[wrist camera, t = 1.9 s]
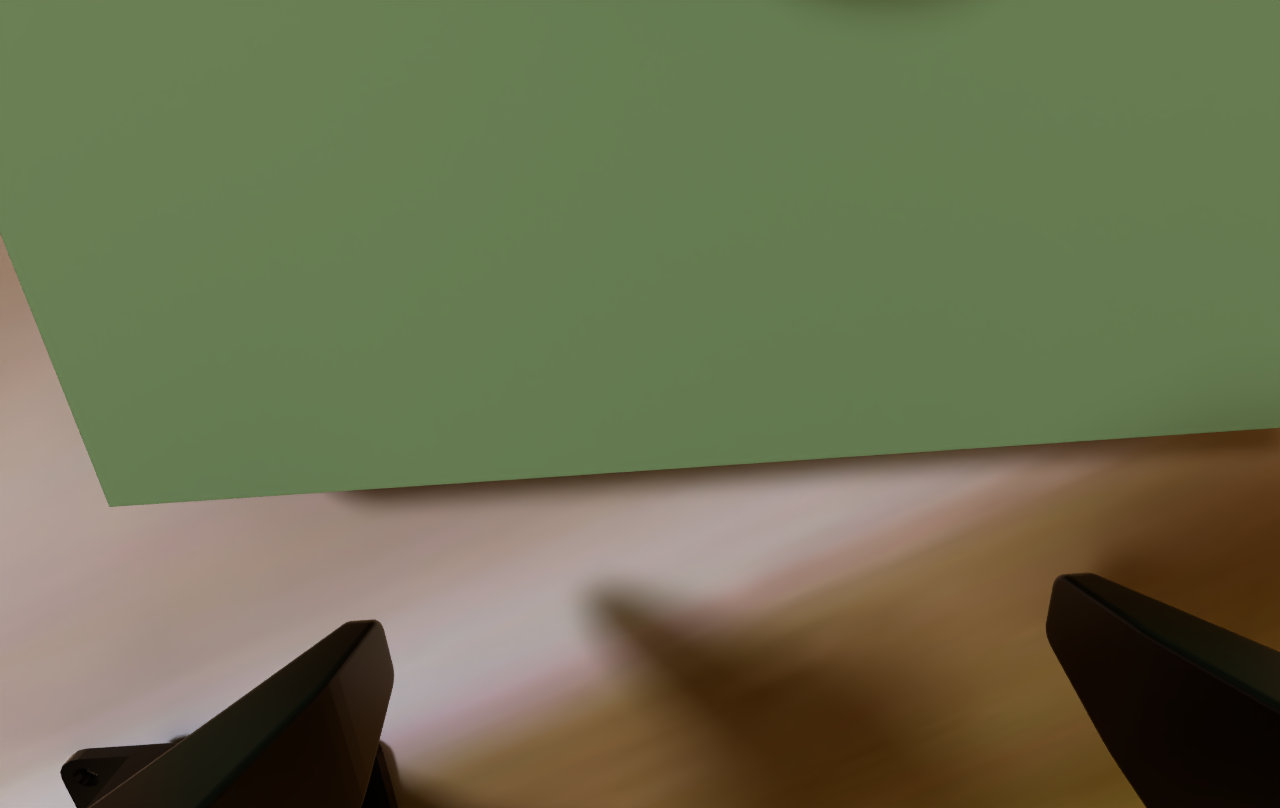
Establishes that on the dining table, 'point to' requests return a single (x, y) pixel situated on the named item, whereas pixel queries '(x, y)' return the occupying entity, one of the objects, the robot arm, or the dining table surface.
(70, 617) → the dining table surface
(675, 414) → the putting mat
